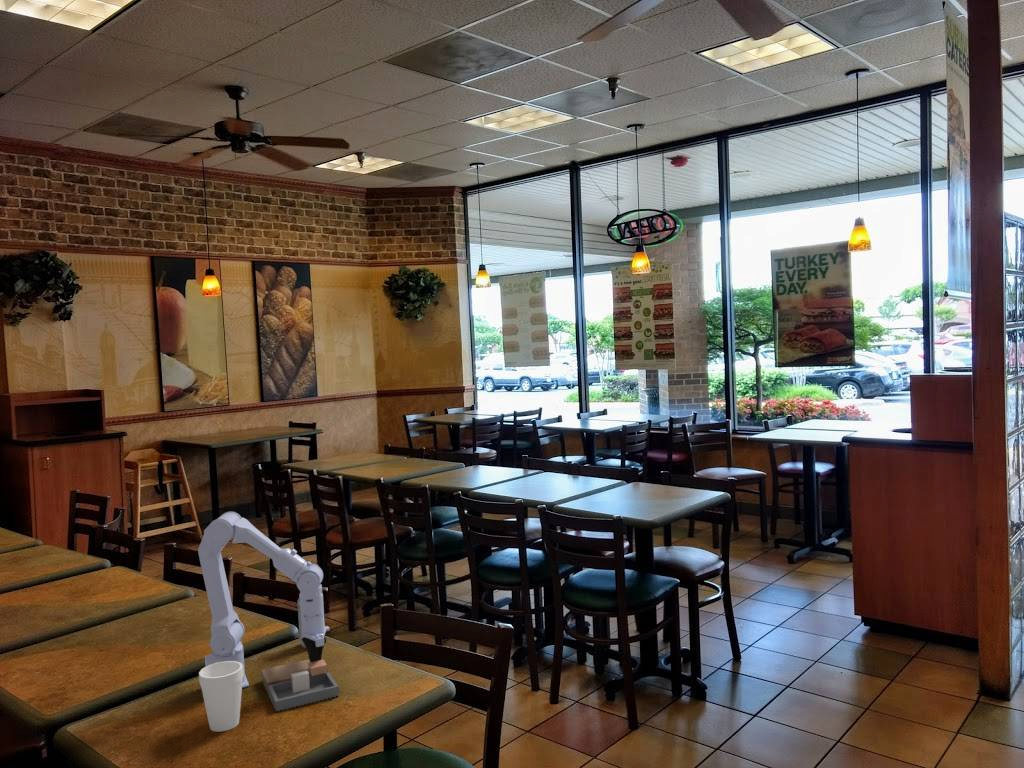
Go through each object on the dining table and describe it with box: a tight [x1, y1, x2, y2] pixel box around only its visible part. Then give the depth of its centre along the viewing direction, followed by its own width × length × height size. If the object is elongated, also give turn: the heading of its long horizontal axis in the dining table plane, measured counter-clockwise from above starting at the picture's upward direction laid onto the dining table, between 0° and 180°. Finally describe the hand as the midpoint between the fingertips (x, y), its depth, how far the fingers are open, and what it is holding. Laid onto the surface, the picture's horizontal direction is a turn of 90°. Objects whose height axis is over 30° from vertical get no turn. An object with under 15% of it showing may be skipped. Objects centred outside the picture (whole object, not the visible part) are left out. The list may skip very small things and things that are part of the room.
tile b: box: [308, 659, 329, 676], centre depth 196 cm, size 4×4×2 cm
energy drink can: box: [297, 594, 306, 649], centre depth 223 cm, size 6×6×15 cm
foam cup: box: [198, 661, 244, 733], centre depth 176 cm, size 10×9×13 cm
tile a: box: [291, 671, 310, 693], centre depth 192 cm, size 4×4×2 cm
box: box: [267, 671, 340, 712], centre depth 190 cm, size 15×10×2 cm
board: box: [261, 658, 329, 696], centre depth 199 cm, size 15×10×3 cm, turn 117°
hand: (315, 664), depth 199 cm, fingers closed
